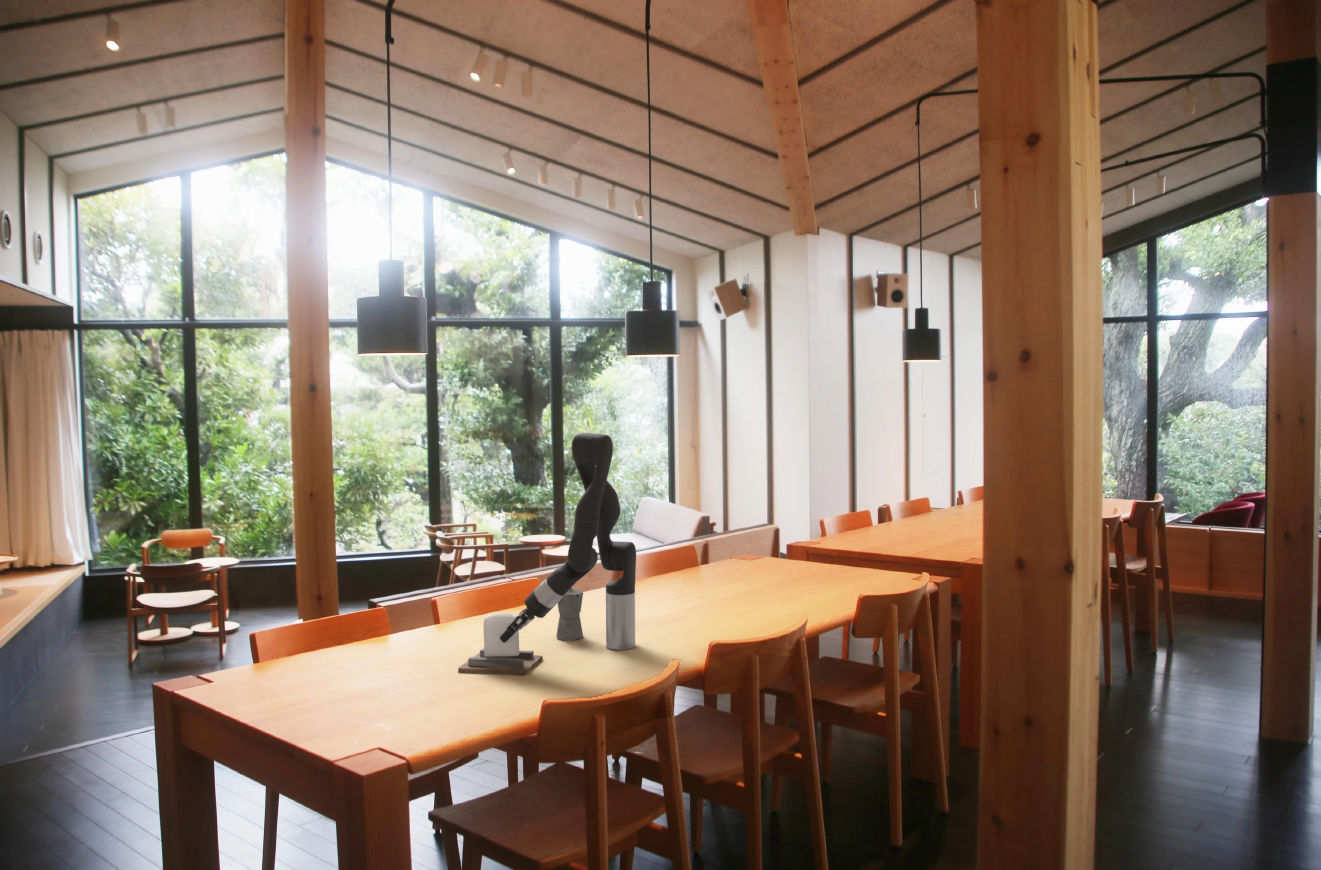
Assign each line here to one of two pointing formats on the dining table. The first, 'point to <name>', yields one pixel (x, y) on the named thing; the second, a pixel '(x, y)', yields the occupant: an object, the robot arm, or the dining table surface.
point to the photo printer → (492, 633)
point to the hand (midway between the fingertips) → (505, 638)
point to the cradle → (501, 663)
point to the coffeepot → (570, 616)
